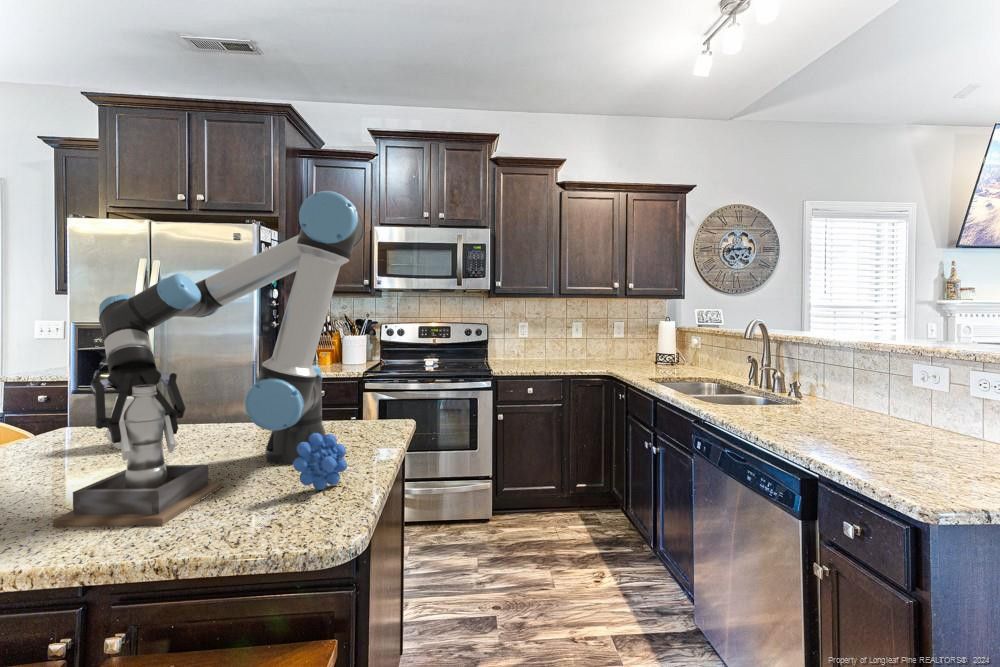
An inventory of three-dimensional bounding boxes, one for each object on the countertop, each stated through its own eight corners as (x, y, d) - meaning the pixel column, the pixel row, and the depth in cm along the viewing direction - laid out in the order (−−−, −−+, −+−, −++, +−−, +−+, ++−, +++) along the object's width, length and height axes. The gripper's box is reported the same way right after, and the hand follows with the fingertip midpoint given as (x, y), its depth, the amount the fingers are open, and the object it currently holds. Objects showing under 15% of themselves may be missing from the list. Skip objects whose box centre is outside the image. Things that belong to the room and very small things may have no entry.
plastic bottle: (120, 501, 83) (117, 389, 82) (129, 488, 89) (127, 384, 88) (164, 494, 86) (161, 387, 85) (170, 483, 92) (168, 382, 91)
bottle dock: (222, 486, 97) (221, 462, 96) (162, 525, 79) (162, 494, 78) (133, 487, 96) (132, 462, 96) (53, 526, 78) (52, 496, 78)
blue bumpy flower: (305, 503, 88) (304, 441, 87) (287, 495, 92) (287, 435, 92) (358, 486, 97) (358, 429, 96) (340, 479, 101) (339, 424, 101)
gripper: (182, 365, 104) (205, 451, 93) (66, 372, 90) (78, 475, 79) (188, 342, 100) (213, 430, 90) (68, 346, 86) (81, 450, 76)
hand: (149, 451), depth 84 cm, fingers closed on plastic bottle, 6 cm apart
